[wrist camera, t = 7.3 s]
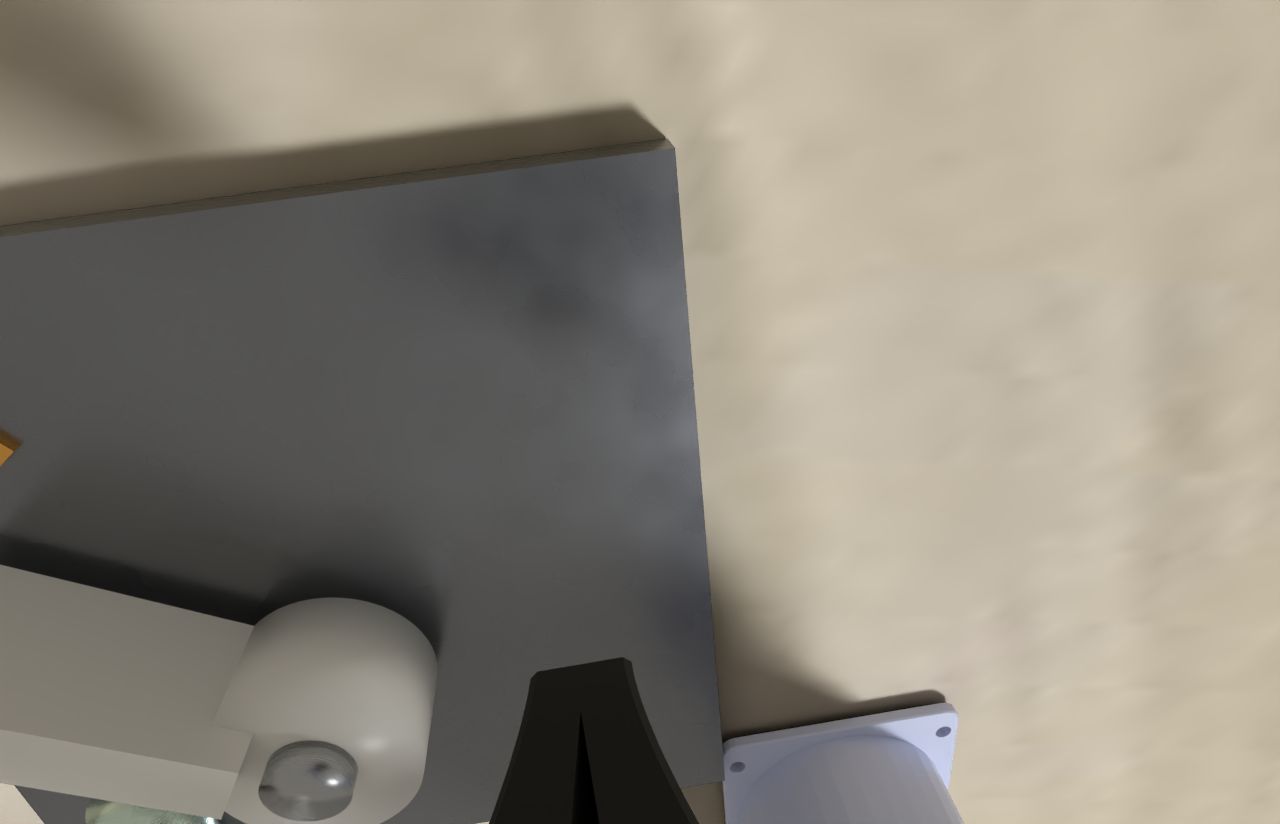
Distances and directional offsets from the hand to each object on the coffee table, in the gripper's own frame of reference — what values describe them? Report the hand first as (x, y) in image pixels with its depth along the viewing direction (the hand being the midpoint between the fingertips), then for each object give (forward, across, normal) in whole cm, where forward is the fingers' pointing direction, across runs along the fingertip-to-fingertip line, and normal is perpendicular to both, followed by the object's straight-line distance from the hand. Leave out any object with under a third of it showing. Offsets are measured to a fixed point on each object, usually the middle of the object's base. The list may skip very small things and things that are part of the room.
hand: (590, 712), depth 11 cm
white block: (+8, +10, +4) cm, 13 cm away
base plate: (+9, +7, +4) cm, 12 cm away
